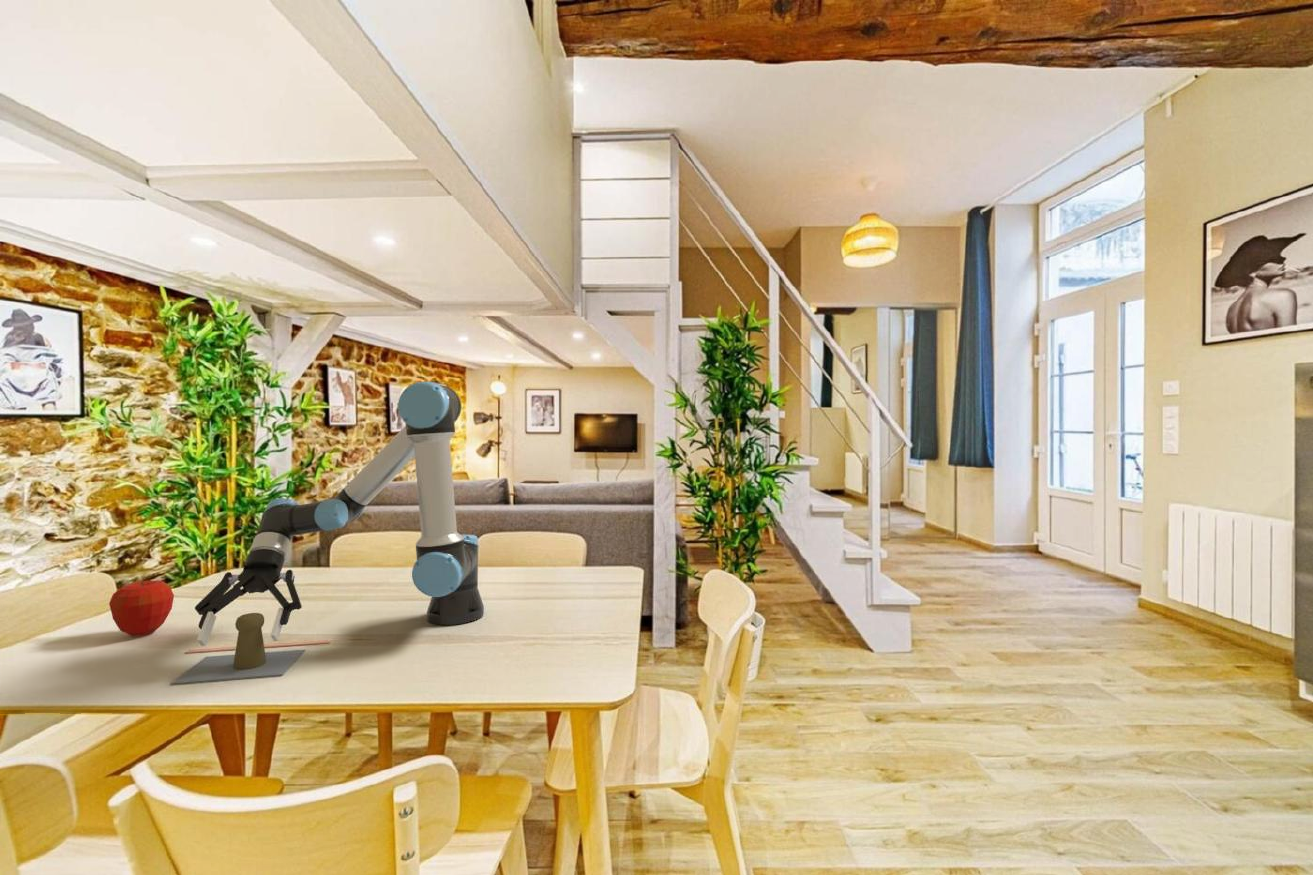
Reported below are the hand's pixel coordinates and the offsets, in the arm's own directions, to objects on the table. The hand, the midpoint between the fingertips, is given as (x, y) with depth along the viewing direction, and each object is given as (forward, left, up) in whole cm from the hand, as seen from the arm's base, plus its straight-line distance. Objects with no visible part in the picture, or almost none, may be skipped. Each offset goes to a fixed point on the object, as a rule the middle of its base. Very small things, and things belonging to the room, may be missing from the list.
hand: (238, 640), depth 123 cm
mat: (0, -2, -7) cm, 7 cm away
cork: (-1, -2, -6) cm, 7 cm away
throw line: (+1, -14, -7) cm, 16 cm away
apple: (+33, -30, -7) cm, 45 cm away
